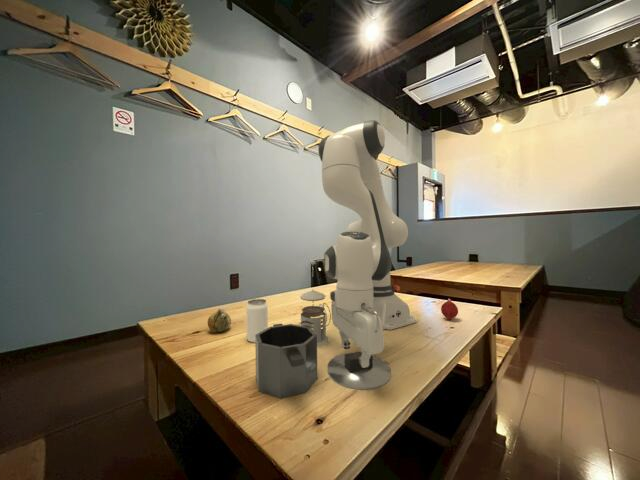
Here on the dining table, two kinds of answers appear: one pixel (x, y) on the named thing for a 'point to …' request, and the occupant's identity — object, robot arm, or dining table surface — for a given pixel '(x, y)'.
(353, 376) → the lid
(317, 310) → the french press
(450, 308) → the onion
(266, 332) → the pot
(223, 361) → the dining table surface
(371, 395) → the dining table surface
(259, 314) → the can
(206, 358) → the dining table surface
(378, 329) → the robot arm
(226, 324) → the onion
